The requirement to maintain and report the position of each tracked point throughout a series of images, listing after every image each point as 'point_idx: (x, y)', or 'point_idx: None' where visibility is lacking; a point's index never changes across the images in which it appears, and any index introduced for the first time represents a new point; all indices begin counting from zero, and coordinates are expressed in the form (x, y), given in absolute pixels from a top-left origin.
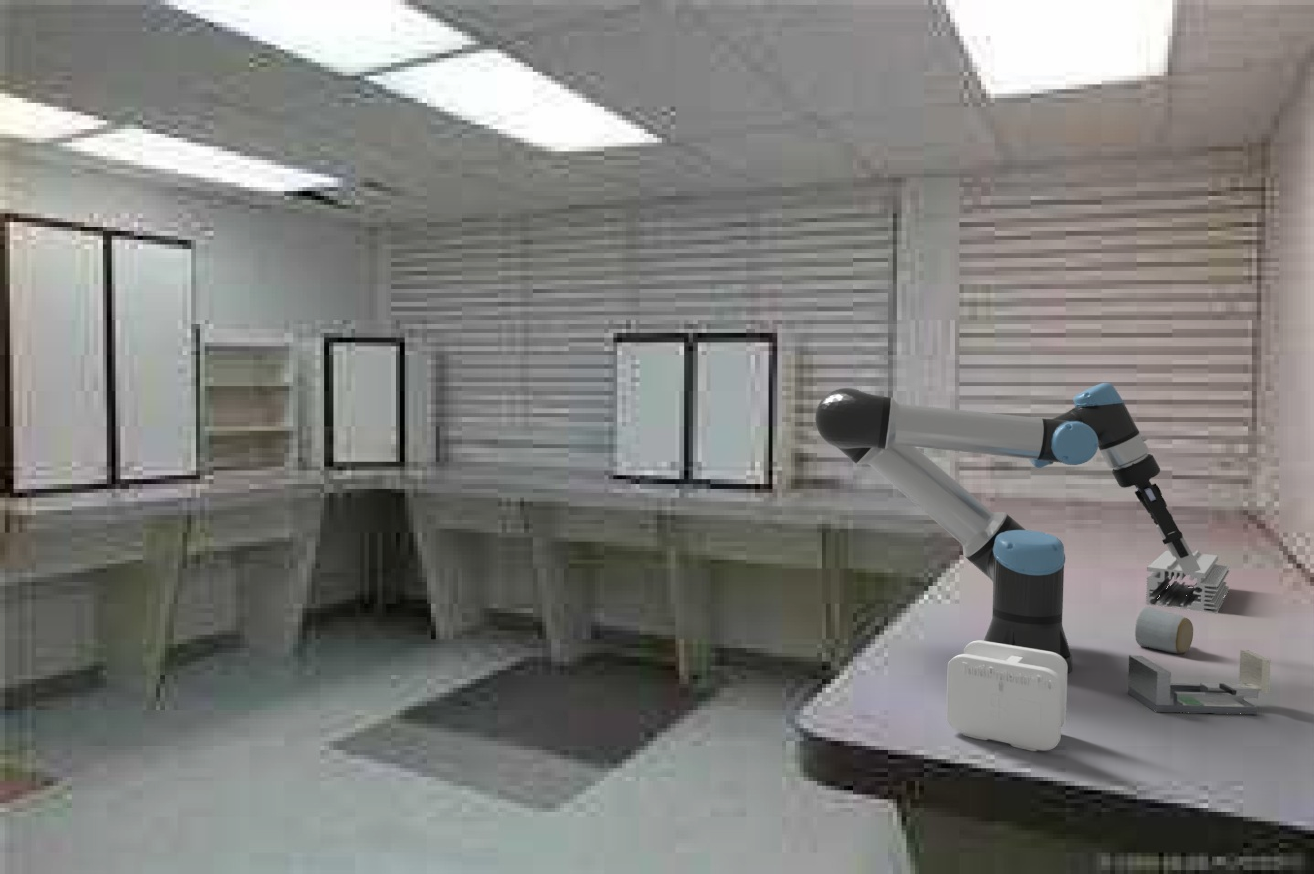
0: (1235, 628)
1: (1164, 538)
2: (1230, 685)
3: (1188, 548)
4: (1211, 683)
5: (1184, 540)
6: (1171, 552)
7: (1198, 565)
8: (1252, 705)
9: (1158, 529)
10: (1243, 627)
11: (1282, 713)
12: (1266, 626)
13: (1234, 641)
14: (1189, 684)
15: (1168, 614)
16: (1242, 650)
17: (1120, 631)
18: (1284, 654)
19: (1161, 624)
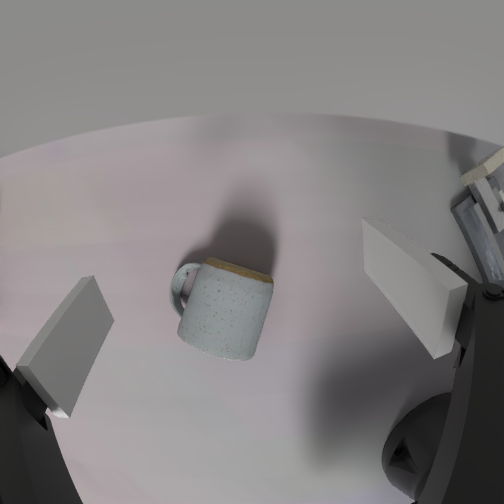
0: (46, 213)
1: (86, 368)
2: (488, 198)
3: (426, 255)
4: (494, 220)
5: (455, 275)
6: (108, 329)
7: (383, 222)
8: (492, 180)
9: (72, 406)
10: (39, 205)
11: (467, 152)
12: (28, 182)
13: (111, 205)
14: (495, 245)
15: (231, 305)
16: (490, 171)
17: (147, 369)
18: (154, 140)
19: (260, 314)
